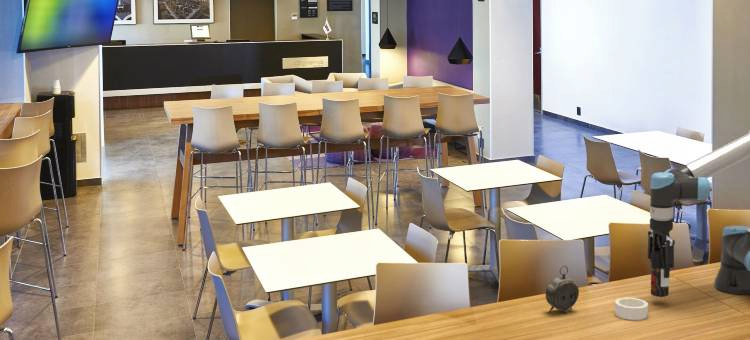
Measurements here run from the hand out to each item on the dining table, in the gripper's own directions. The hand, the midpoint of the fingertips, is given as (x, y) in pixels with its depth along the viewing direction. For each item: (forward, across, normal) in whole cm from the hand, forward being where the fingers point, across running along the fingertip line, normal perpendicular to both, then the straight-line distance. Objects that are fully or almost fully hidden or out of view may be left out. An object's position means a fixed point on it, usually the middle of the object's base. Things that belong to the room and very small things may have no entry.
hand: (659, 283), depth 303 cm
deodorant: (+4, 0, 0) cm, 4 cm away
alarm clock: (+7, 0, -36) cm, 36 cm away
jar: (+7, +8, -15) cm, 18 cm away
